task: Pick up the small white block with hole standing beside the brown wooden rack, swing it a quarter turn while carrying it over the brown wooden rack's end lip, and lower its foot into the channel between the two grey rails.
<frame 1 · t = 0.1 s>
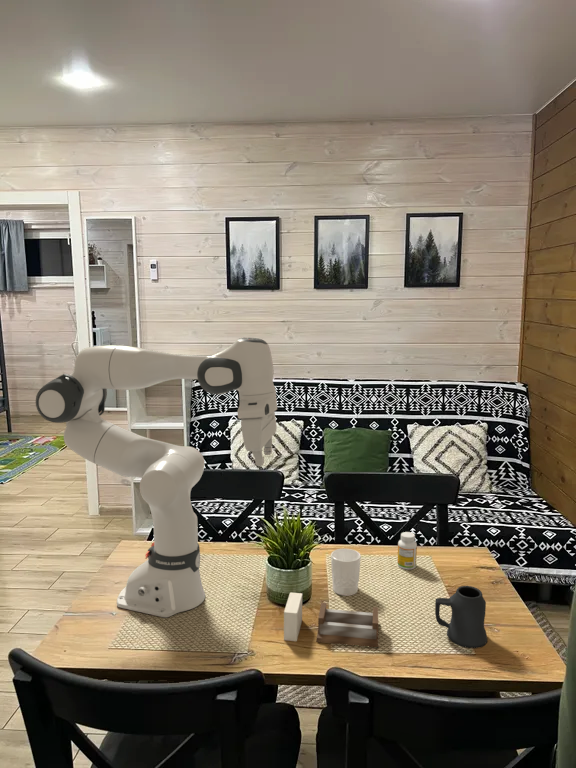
hand: (264, 459, 142), 39 cm above the table, tool pointing down, fingers open, 8 cm apart
white cup: (345, 590, 156), on the table
mug: (460, 636, 135), on the table
supplement bottle: (406, 566, 170), on the table
white block with hole: (293, 629, 137), on the table
brown wooden rack: (348, 632, 136), on the table
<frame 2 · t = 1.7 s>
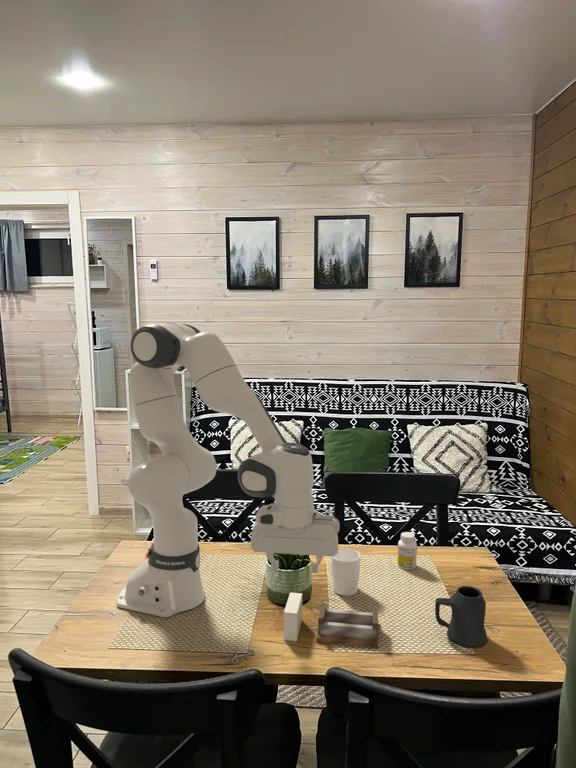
hand: (294, 570, 135), 15 cm above the table, tool pointing down, fingers open, 8 cm apart
nothing on the table moved.
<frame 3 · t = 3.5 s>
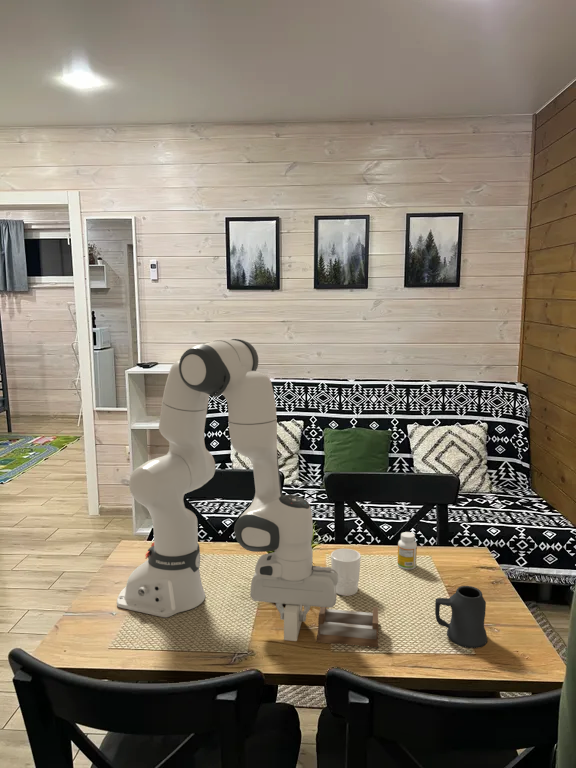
hand: (293, 619, 137), 3 cm above the table, tool pointing down, fingers closed on white block with hole, 3 cm apart
white block with hole: (293, 629, 137), on the table, touching gripper
everything else where it was.
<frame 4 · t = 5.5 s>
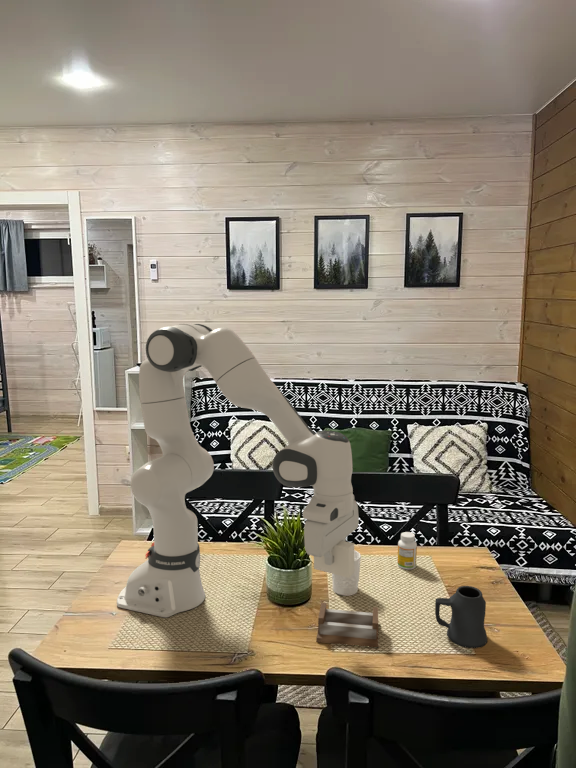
hand: (333, 559, 133), 18 cm above the table, tool pointing down, fingers closed on white block with hole, 3 cm apart
white block with hole: (334, 570, 133), point 16 cm above the table, touching gripper
everything else where it was.
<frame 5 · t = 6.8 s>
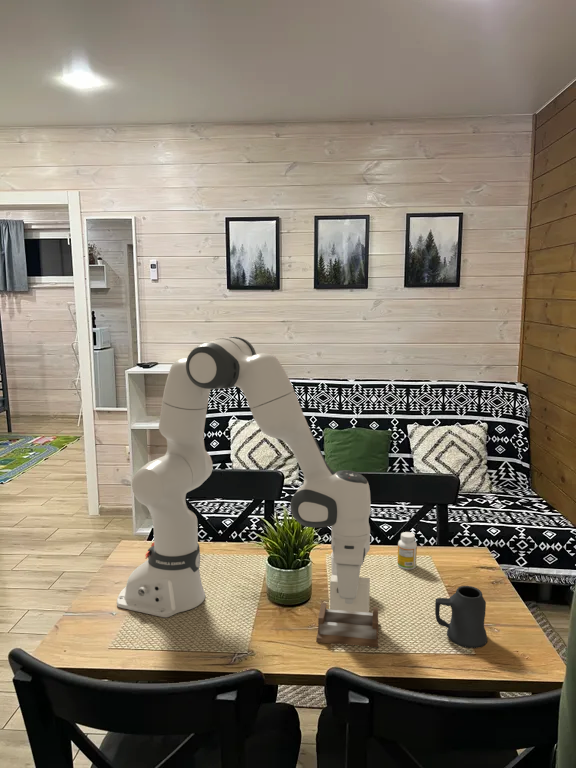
hand: (349, 597, 135), 9 cm above the table, tool pointing down, fingers closed on white block with hole, 3 cm apart
white block with hole: (349, 607, 135), point 6 cm above the table, touching gripper
everything else where it was.
when the fingers open (5 cm above the table, at t = 7.9 s): white block with hole drops 1 cm, resting on brown wooden rack.
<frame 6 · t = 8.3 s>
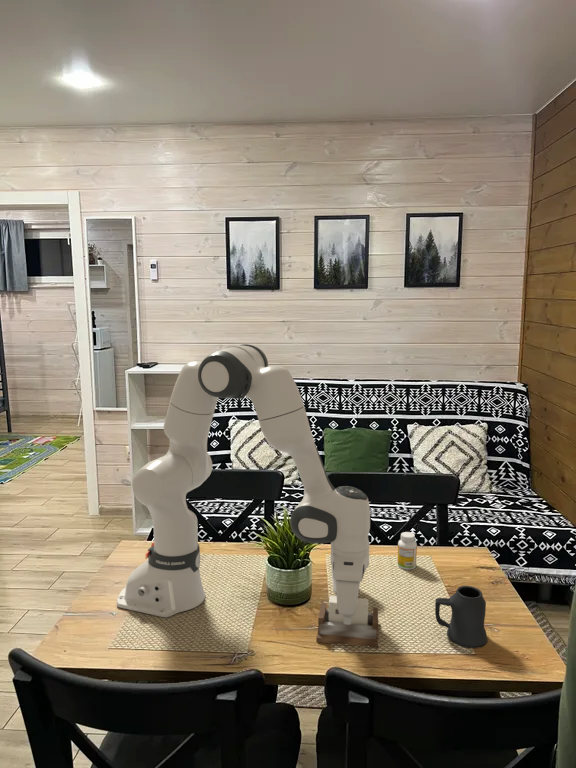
hand: (348, 612, 135), 5 cm above the table, tool pointing down, fingers open, 8 cm apart
white block with hole: (348, 628, 136), point 1 cm above the table, touching brown wooden rack
everything else where it was.
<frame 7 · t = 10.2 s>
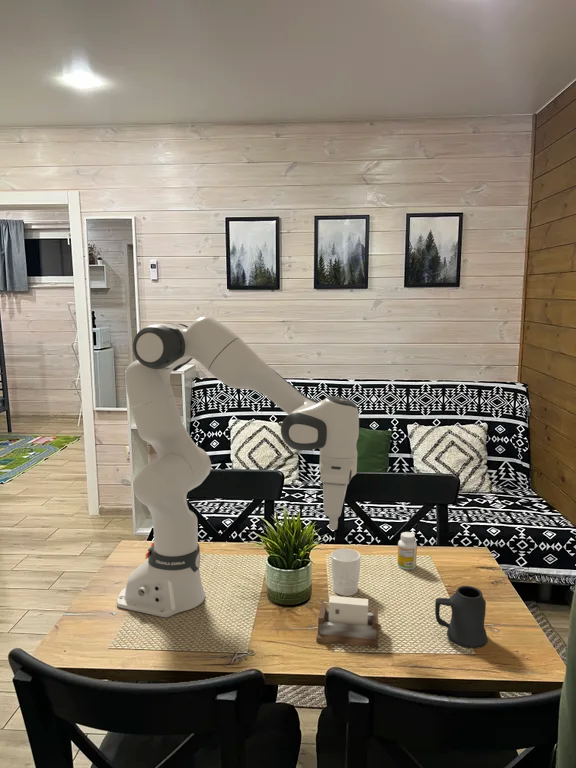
hand: (335, 520, 139), 25 cm above the table, tool pointing down, fingers open, 8 cm apart
nothing on the table moved.
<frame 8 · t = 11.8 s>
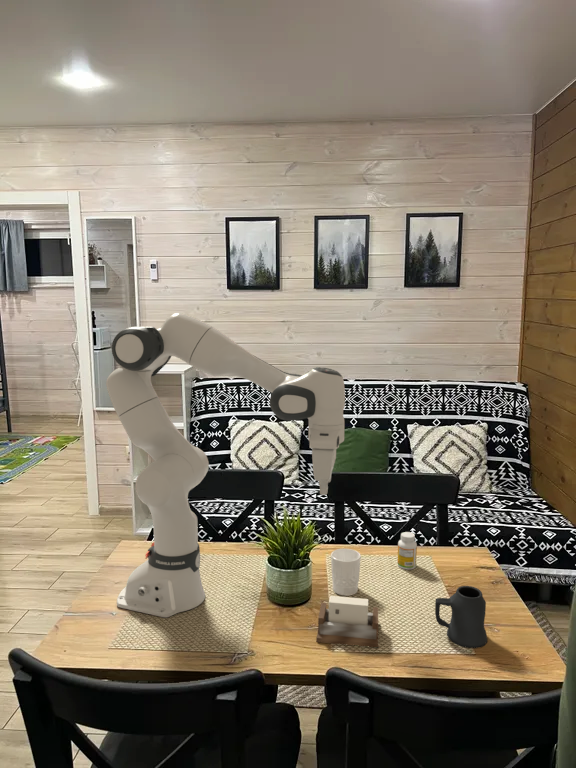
hand: (325, 487, 144), 31 cm above the table, tool pointing down, fingers open, 8 cm apart
nothing on the table moved.
at the end: white block with hole 0.1 cm off-centre on the brown wooden rack, point 1.0 cm above the brown wooden rack's base; white block with hole tilted 0°; the gripper is holding nothing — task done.
